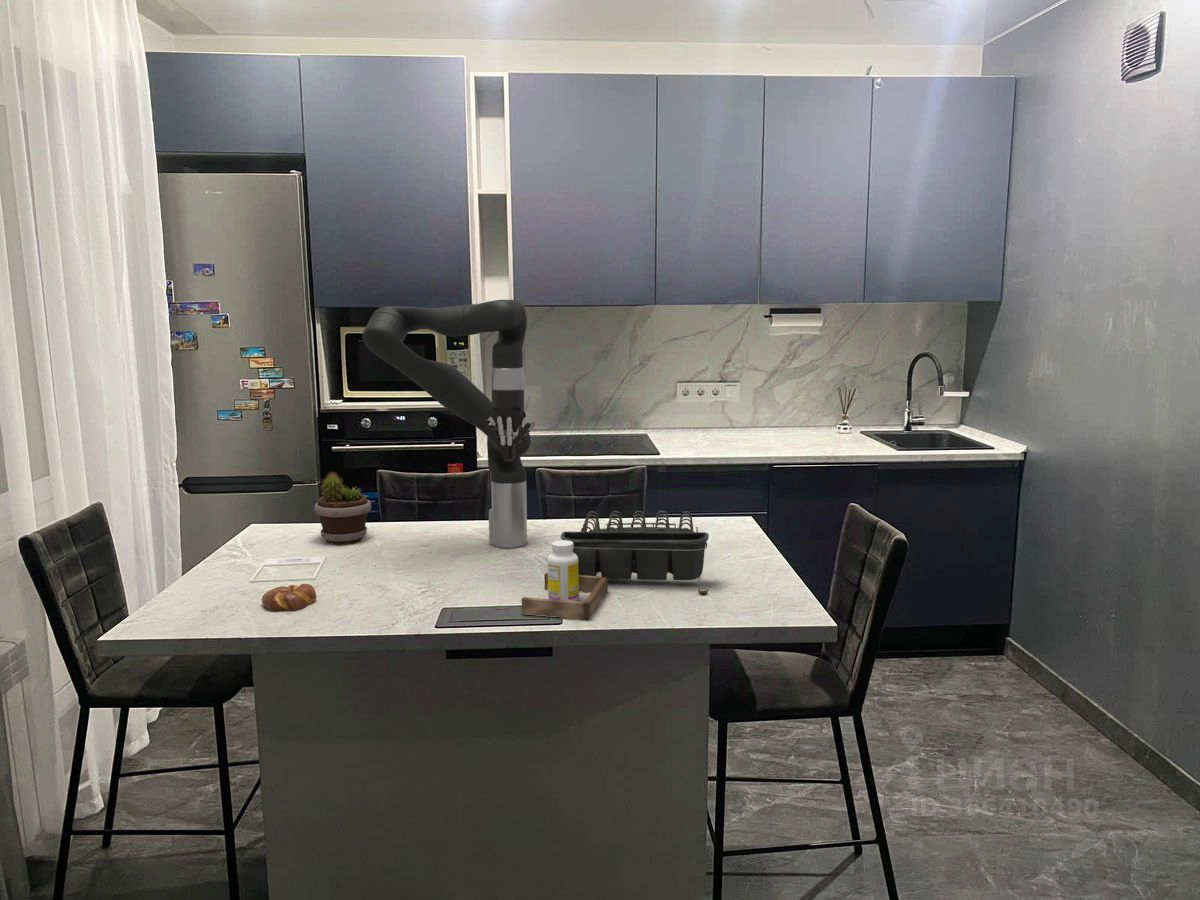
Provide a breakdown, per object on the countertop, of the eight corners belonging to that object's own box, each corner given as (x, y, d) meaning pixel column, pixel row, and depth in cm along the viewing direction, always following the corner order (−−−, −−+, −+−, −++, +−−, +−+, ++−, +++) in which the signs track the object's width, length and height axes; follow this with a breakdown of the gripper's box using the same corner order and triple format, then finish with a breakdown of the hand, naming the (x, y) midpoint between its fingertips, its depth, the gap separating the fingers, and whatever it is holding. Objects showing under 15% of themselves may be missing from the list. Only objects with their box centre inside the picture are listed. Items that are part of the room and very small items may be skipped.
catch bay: (521, 615, 184) (521, 598, 183) (546, 587, 201) (545, 572, 201) (588, 620, 181) (588, 604, 180) (607, 592, 198) (607, 576, 198)
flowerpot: (347, 530, 251) (344, 460, 248) (384, 539, 242) (381, 466, 239) (304, 541, 240) (300, 468, 236) (340, 550, 231) (337, 475, 227)
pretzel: (295, 592, 199) (294, 576, 198) (329, 601, 193) (329, 584, 193) (250, 607, 189) (249, 590, 188) (284, 616, 183) (284, 599, 183)
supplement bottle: (578, 595, 196) (578, 538, 194) (579, 605, 190) (578, 546, 188) (548, 595, 196) (547, 538, 194) (547, 605, 190) (546, 547, 187)
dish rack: (558, 587, 203) (557, 536, 201) (580, 536, 246) (580, 494, 244) (708, 592, 199) (709, 540, 197) (704, 540, 243) (705, 497, 241)
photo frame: (326, 555, 224) (314, 577, 207) (326, 559, 224) (315, 581, 207) (265, 558, 222) (249, 579, 204) (266, 562, 222) (249, 584, 205)
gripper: (474, 387, 205) (476, 461, 208) (526, 389, 200) (527, 465, 203) (490, 384, 212) (492, 456, 215) (540, 386, 207) (541, 460, 210)
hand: (509, 460), depth 209 cm, fingers closed
